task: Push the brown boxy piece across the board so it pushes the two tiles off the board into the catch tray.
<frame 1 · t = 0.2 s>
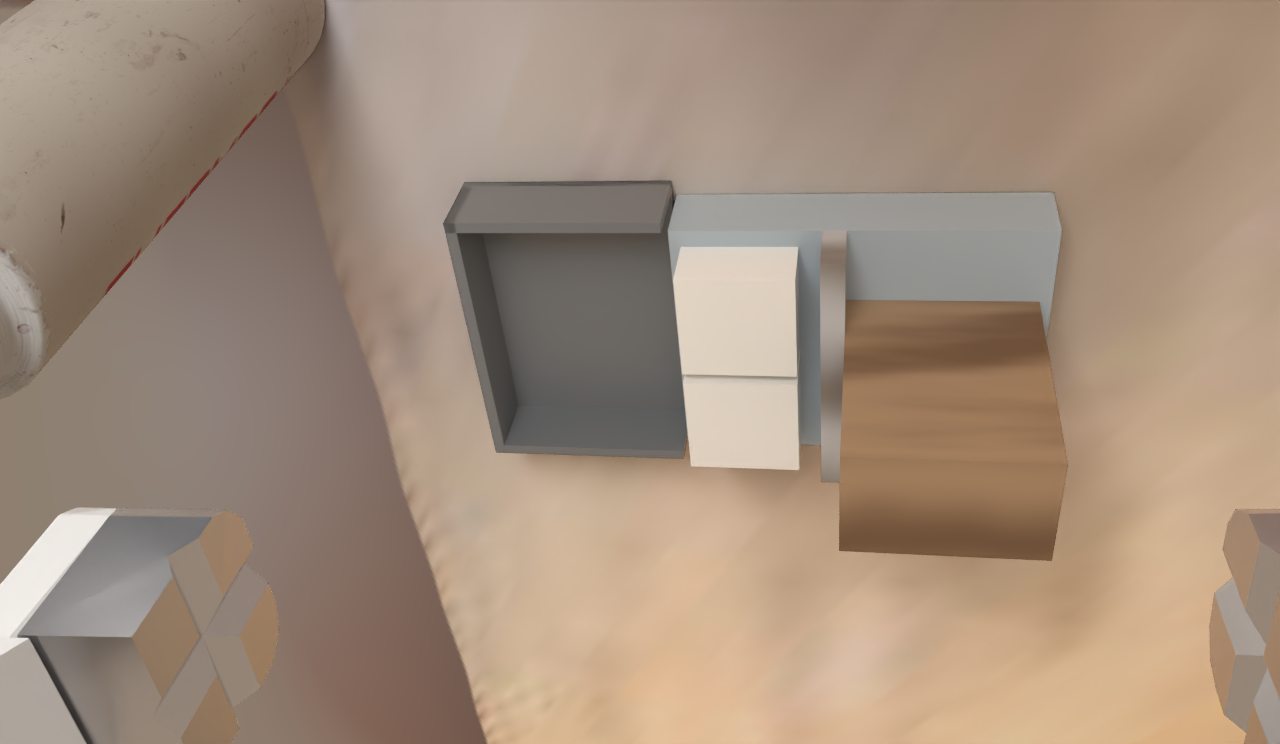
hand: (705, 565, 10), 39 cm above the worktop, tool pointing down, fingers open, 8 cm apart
brown boxy piece: (938, 347, 53), point 3 cm above the worktop, touching board
tile b: (747, 392, 56), point 3 cm above the worktop, touching board
board: (858, 306, 56), on the worktop
tile a: (741, 295, 53), point 3 cm above the worktop, touching board
catch tray: (584, 303, 58), on the worktop
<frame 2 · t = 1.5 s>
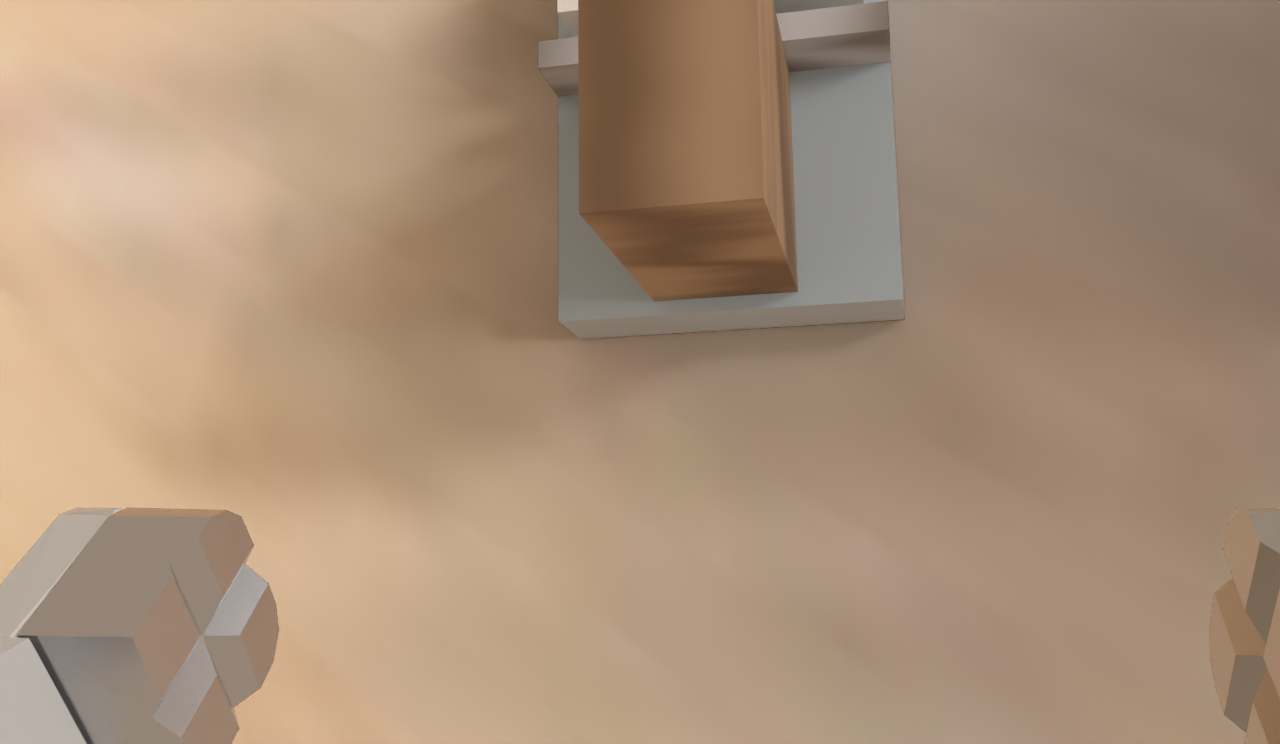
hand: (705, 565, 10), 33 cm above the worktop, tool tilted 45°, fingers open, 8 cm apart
brown boxy piece: (722, 186, 42), point 3 cm above the worktop, touching board
board: (731, 124, 46), on the worktop
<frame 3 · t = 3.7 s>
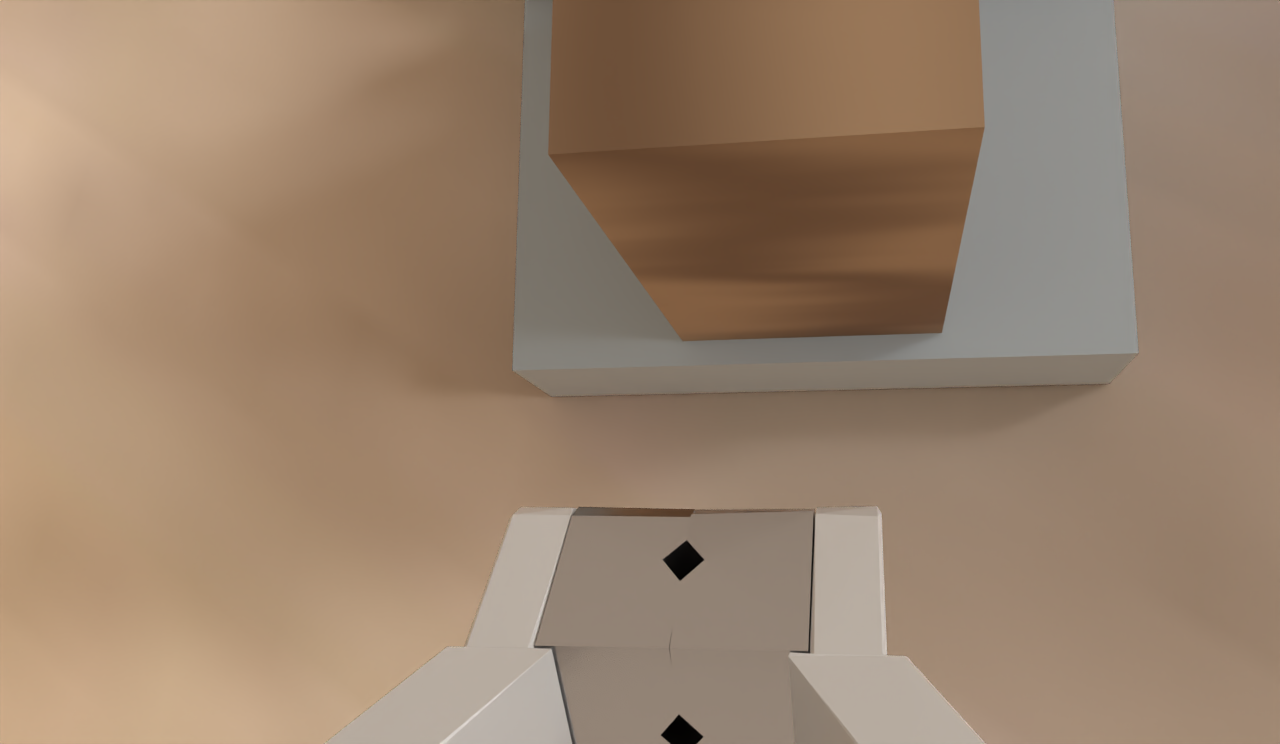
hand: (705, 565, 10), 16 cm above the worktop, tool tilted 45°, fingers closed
brown boxy piece: (806, 143, 24), point 3 cm above the worktop, touching board
board: (812, 49, 28), on the worktop
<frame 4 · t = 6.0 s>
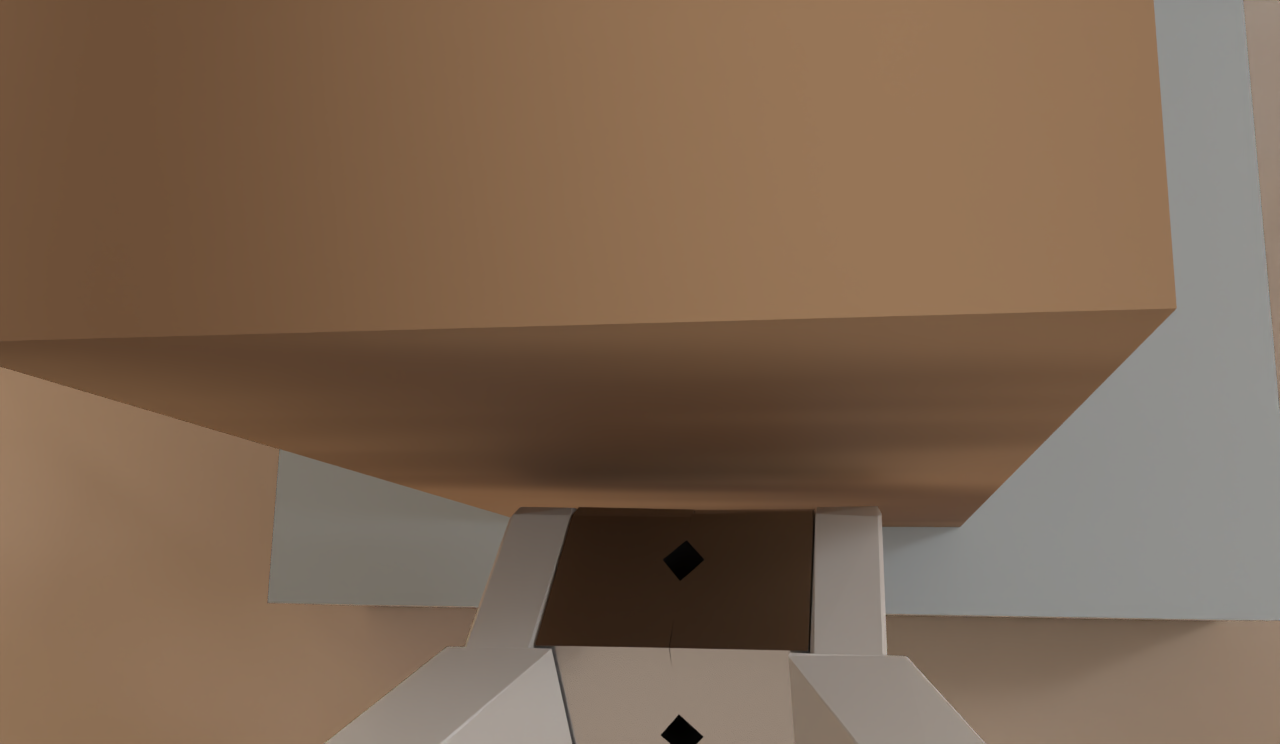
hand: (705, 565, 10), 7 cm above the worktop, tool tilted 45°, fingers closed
brown boxy piece: (742, 205, 15), point 3 cm above the worktop, touching board
board: (762, 83, 19), on the worktop
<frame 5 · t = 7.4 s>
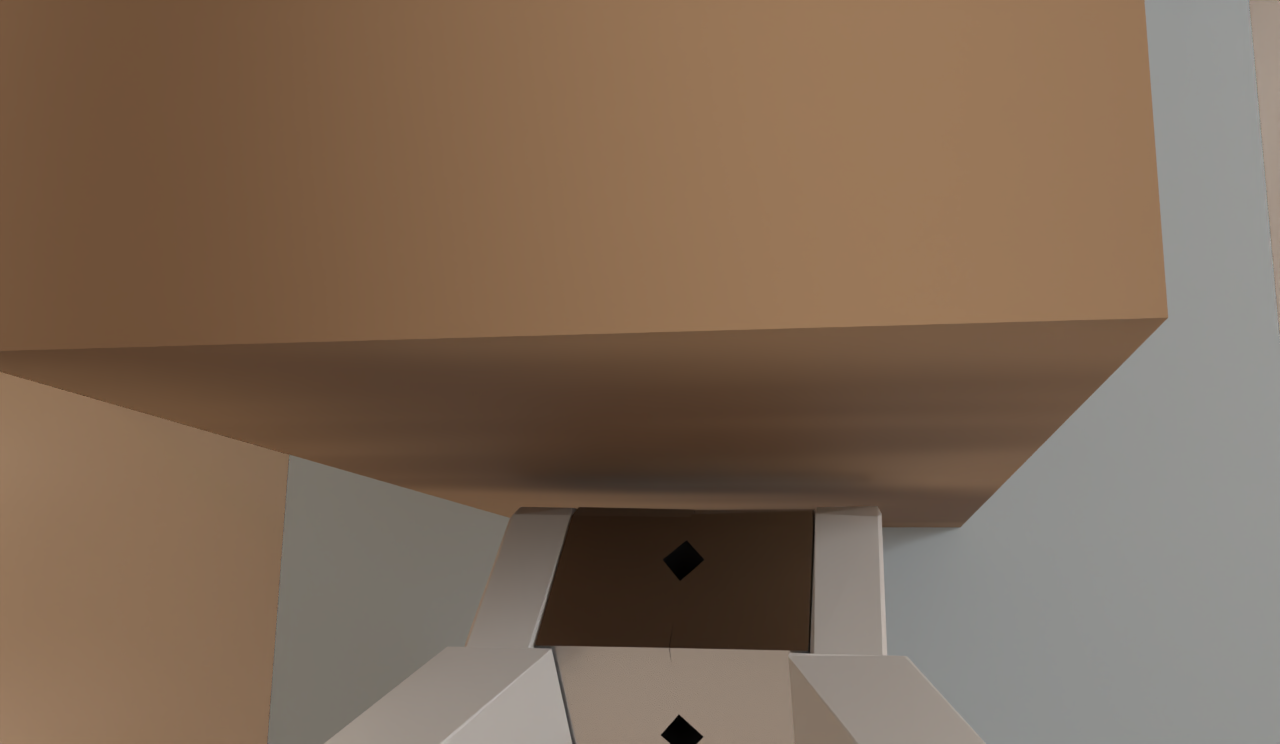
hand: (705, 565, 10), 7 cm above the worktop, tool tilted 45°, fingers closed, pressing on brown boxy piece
brown boxy piece: (743, 207, 15), point 3 cm above the worktop, touching gripper
board: (771, 562, 17), on the worktop
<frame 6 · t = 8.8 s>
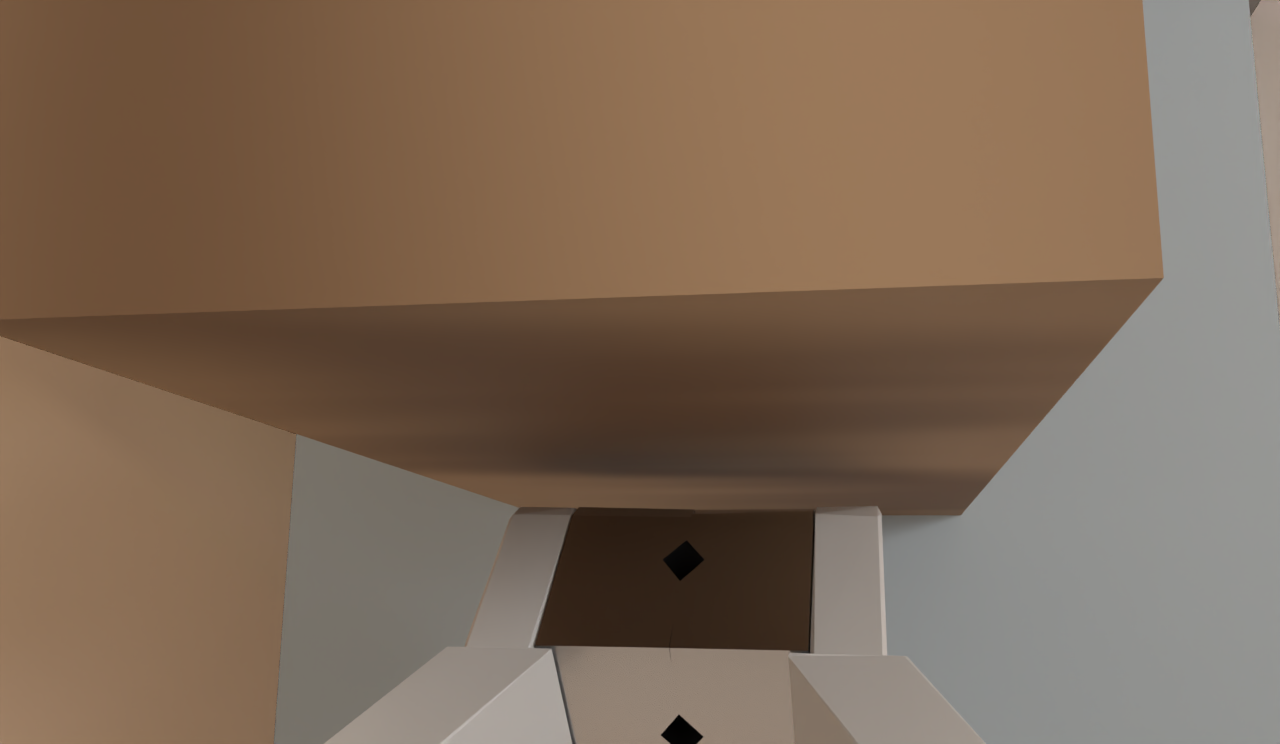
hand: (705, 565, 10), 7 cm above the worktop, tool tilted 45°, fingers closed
brown boxy piece: (744, 199, 15), point 3 cm above the worktop, touching board, tile b
board: (775, 612, 17), on the worktop
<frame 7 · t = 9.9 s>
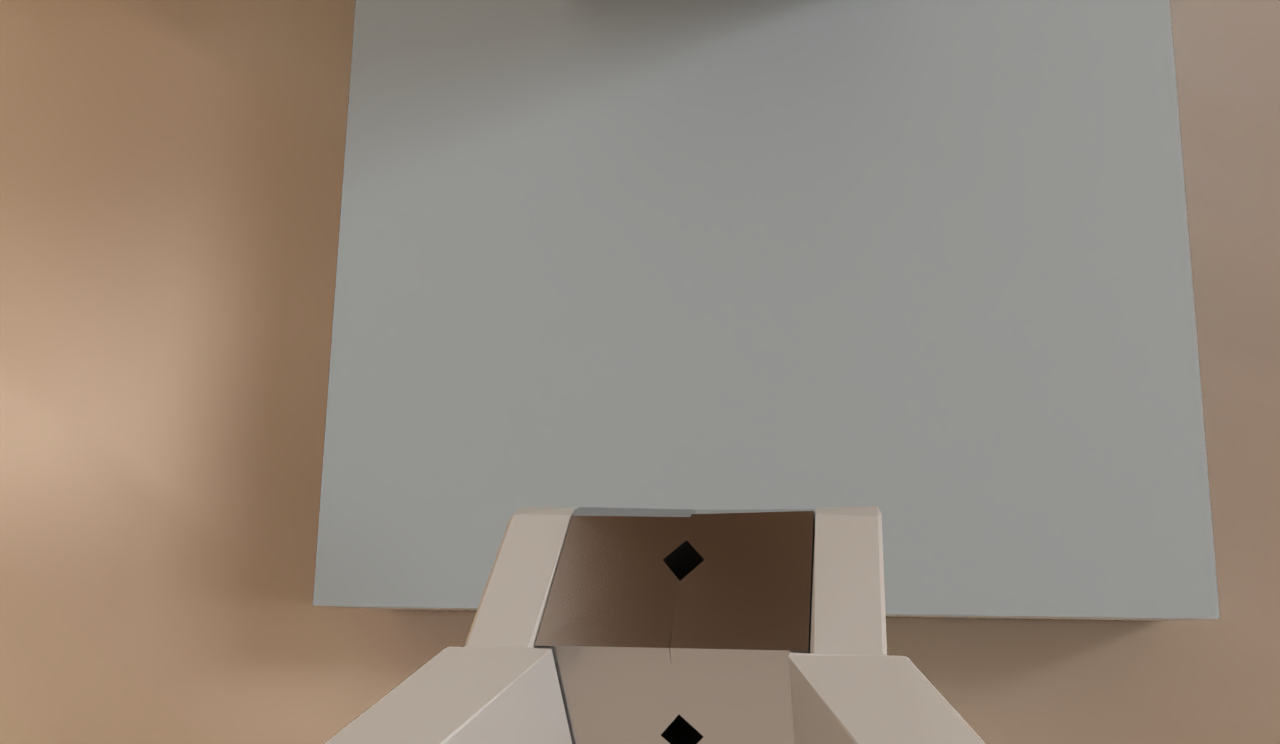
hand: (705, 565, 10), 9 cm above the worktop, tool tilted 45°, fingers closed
board: (753, 135, 21), on the worktop
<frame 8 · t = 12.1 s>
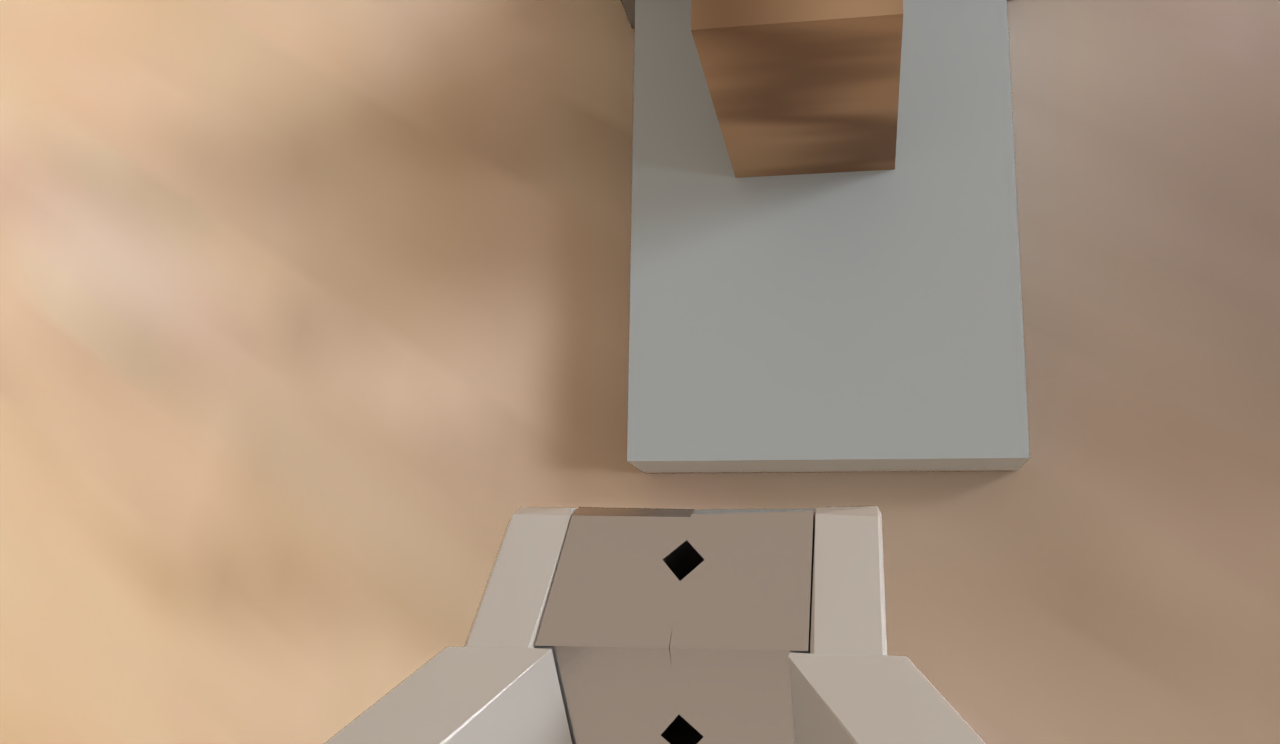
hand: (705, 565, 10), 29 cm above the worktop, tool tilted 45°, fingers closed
brown boxy piece: (812, 56, 39), point 3 cm above the worktop, touching board, tile b
board: (822, 236, 41), on the worktop
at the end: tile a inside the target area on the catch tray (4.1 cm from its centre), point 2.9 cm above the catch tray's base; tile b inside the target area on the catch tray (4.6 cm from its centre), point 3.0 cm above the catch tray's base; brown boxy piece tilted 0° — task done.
